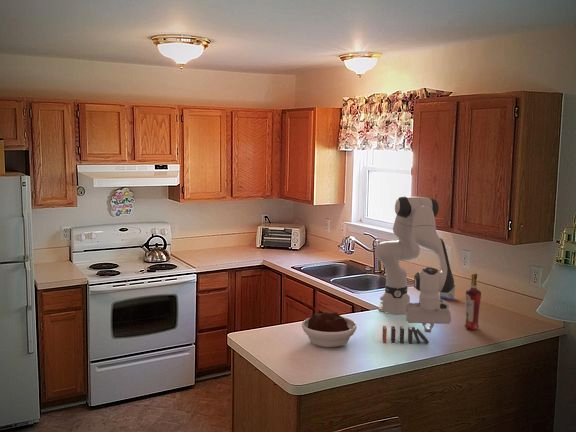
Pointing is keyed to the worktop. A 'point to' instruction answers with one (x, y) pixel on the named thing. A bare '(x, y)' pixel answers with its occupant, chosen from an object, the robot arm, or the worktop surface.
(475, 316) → the liquor
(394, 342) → the domino
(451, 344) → the worktop surface
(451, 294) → the medicine box
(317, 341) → the bowl of chocolate
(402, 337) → the domino
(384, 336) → the domino
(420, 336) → the domino
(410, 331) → the domino
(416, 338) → the domino
